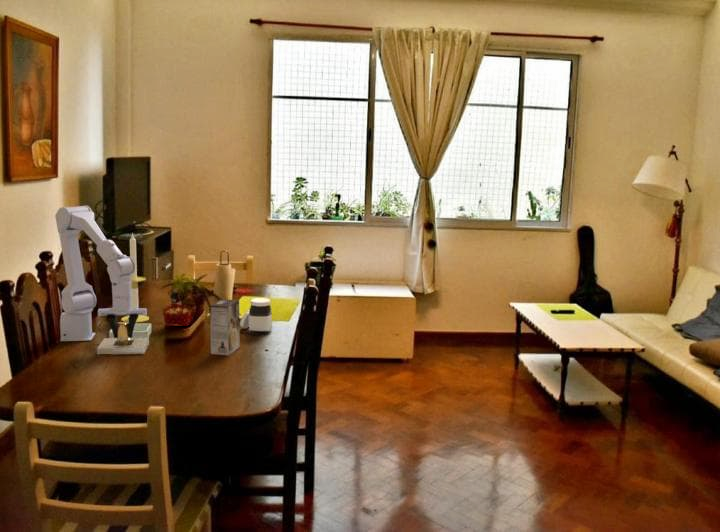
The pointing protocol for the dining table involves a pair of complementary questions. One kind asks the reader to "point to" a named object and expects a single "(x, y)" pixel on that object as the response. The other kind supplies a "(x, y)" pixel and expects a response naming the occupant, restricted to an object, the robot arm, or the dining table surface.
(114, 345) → the block
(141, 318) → the candle
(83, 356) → the dining table surface
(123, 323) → the pin
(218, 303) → the coffee box
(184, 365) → the dining table surface
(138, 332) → the tray
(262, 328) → the spread jar
